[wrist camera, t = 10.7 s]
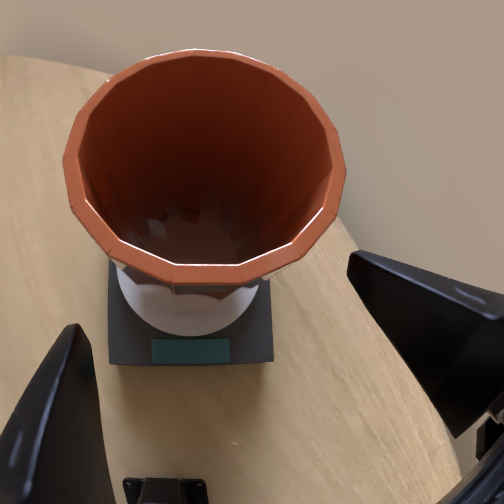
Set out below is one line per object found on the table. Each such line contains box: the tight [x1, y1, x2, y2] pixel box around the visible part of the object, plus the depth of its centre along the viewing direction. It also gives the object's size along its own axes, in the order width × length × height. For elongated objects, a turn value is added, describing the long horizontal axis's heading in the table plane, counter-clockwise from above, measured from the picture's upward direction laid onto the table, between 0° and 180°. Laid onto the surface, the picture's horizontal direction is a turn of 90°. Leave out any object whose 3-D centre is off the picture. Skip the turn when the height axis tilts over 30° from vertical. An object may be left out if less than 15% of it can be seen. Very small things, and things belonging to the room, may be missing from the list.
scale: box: [108, 259, 274, 366], centre depth 20 cm, size 12×11×3 cm
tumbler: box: [63, 49, 346, 315], centre depth 12 cm, size 7×7×13 cm
